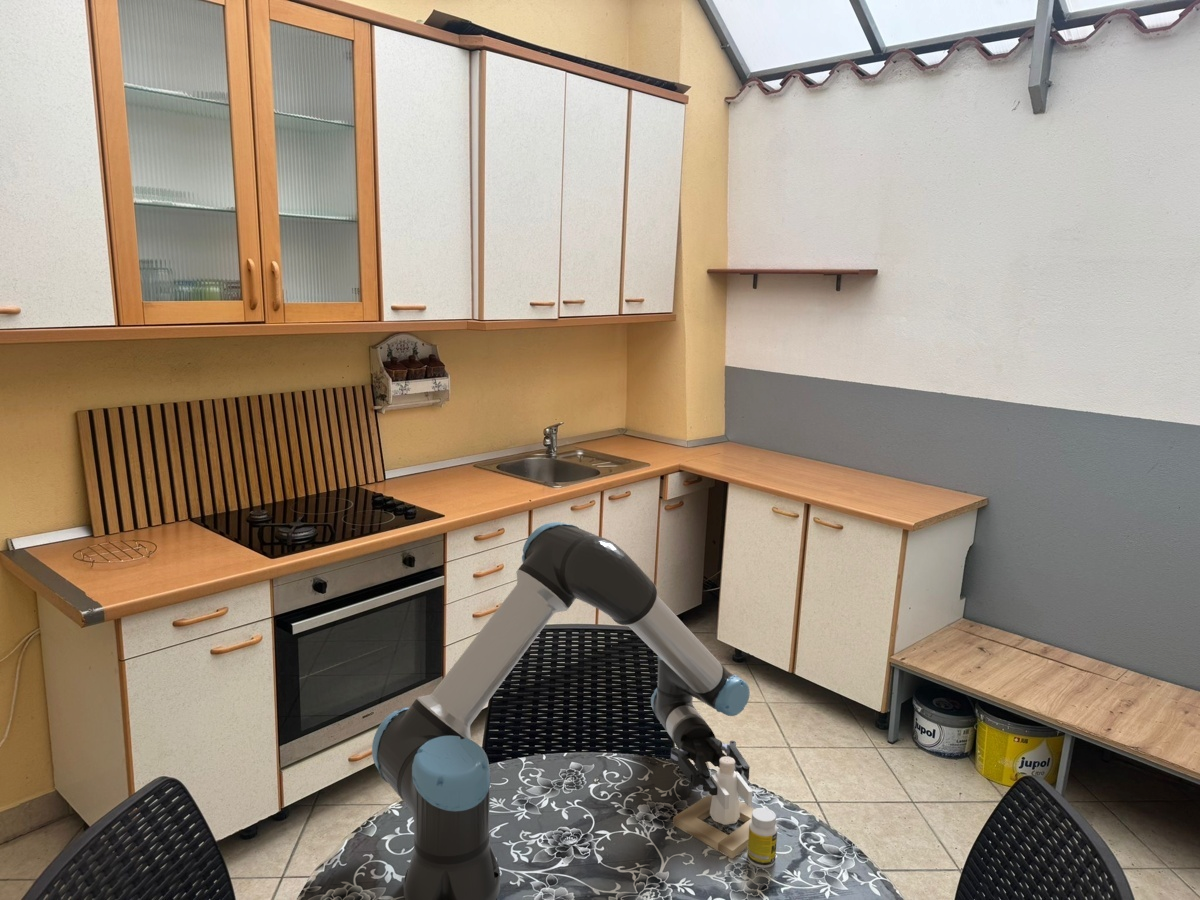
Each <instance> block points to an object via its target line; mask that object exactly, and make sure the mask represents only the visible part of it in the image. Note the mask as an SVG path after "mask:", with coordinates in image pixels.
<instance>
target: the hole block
mask: <svg viewBox="0 0 1200 900" xmlns="http://www.w3.org/2000/svg"><path fill="white" fill-rule="evenodd" d="M711 801H712V795H711V794H710V793H709V792H708V794H706V795H704V796H703V797H702V798H700V799H699V800H697V801H696V802H694V803H693V804H691V805H690V806H689V807H687V808H685V809H684V810H682V811H681V812H678V813H677V814H676V815H675V816H673V817H672V825H673V826H674V827H676V828H678V829H680V830H681V831H683V832H684V833H686V834H688V835H690V836H692V837H694V838H695V839H697V840H698V841H700V842H702V843H704V844H705V845H707V846H709V847H711V848H712V849H714V850H716V851H718V852H720V853H721V854H723V855H725V856H727V858H730V859H733V860H734V858H735V857H736V856H738V855H739V854H740V853H742V852H743V851H745V850H746V849H748V836H749V824H750V822H751V820H752V812H753V810H754V809H756V808H754V807H753V806H748V805H747V804H746V803H745V802H744V801H741V800H739V811H740V817H739V819H740V820H739V819H738V820H739V821H741V822H743V824H741V825H740V826H739V827H738V828H736V829H735V830H733V831H732V832H731V833H730V834H728V833H725V832H723V831H722V830H720V829H719V828H716V827H715V826H713V825H711V824H709V823H708V822H705V820H706V819H708V818H709V817H710V816H711V815H710V807H711ZM744 822H745V823H744Z"/></svg>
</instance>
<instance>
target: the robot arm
mask: <svg viewBox="0 0 1200 900" xmlns="http://www.w3.org/2000/svg"><path fill="white" fill-rule="evenodd" d="M522 553H523V554H522V556H521V561H522V564H520V566H519V568H517V571H516V582H517V583H516V585H515V586H514V587H513V588H512V590H511V591H510V593H508V595H507V597H506V598H505V599H504V600H503V602H502V603H501V604H500V606H498V608H497V609H496V610H495V612H494V613H493V614H492V616H491V617H490V618H489V620H488V621H487V622H486V623H485V625H484V626H483V627H482V628H481V630H480V631H479V632H478V634H477V635H476V636H475V637H474V639H473V640H472V641H471V642H470V644H469V645H468V646H467V648H465V650H464V652H463V653H462V654H461V655H460V657H459V658H458V659H457V660H456V661H455V662H454V664H453V666H452V667H451V668H450V669H449V670H448V672H447V673H446V674H445V676H444V677H443V678H442V680H441V681H440V683H438V685H437V686H436V688H434V690H433V691H432V693H430V694H427V695H422V696H421V695H420V696H417V698H416V699H414V701H413V702H412V703H411V705H410V706H409V707H402V708H401V709H400V710H394V711H393V712H391V713H390V714H389V715H387V716H386V717H385V718H384V719H383V721H381V723H380V724H379V726H378V727H377V729H376V732H375V734H374V737H373V739H372V745H371V750H372V751H371V753H372V754H371V755H372V759H373V763H374V765H375V767H376V768H377V770H378V773H379V775H380V776H381V778H382V779H383V781H385V783H387V784H389V786H390V787H391V788H392V789H393V791H394V792H395V793H396V794H397V795H398V797H399V798H400V799H401V800H402V801H403V802H404V804H405V805H406V806H407V807H408V808H409V810H410V811H411V812H412V813H411V814H412V815H413V830H414V832H413V837H414V838H413V839H414V841H413V843H414V847H413V852H412V855H411V858H410V862H409V866H408V868H407V870H406V872H405V875H404V878H403V899H404V898H405V900H497V899H498V897H499V895H500V892H501V870H500V866H499V864H498V860H497V857H496V855H495V852H494V849H493V847H492V844H491V843H490V842H491V841H490V798H491V797H490V794H491V793H490V788H491V787H490V786H491V770H490V764H489V758H488V755H487V753H486V752H485V750H484V748H482V746H480V745H479V744H478V743H477V742H475V741H474V740H472V737H471V736H472V735H471V725H472V723H473V722H474V721H475V719H476V718H477V717H478V716H479V714H480V713H481V712H482V710H483V709H484V707H486V705H487V704H488V702H489V701H490V699H491V698H492V697H493V696H494V694H495V693H496V691H497V690H498V689H499V687H500V686H501V685H502V684H503V682H504V681H505V680H506V678H507V677H508V676H509V674H510V673H511V671H512V670H513V669H514V668H515V666H516V665H517V664H518V662H519V661H520V659H521V658H522V657H523V655H524V654H525V653H526V652H527V650H528V649H529V647H530V646H531V645H532V643H533V642H534V641H535V639H536V638H537V637H538V636H539V635H540V634H541V631H543V629H544V628H545V626H546V625H547V623H549V621H550V620H551V618H552V617H553V616H554V615H555V614H556V613H560V612H561V613H562V612H566V611H567V612H568V610H569V608H570V607H571V606H572V605H573V603H574V602H575V601H576V599H578V600H579V601H581V602H583V603H586V604H588V605H590V606H592V607H593V608H595V609H597V610H600V611H601V612H603V613H604V614H606V615H607V616H608V617H610V618H611V619H612V620H613V621H614V622H615V623H616V624H618V625H619V626H626V627H629V629H630V630H632V631H633V632H634V633H635V634H636V635H637V636H638V638H640V640H642V641H643V642H644V643H645V645H646V646H648V647H649V648H650V649H651V650H652V651H653V653H655V654H656V655H657V687H656V688H655V689H654V690H653V693H652V695H651V696H650V704H651V708H652V711H653V713H654V714H655V717H656V719H657V720H658V721H659V723H660V724H661V725H662V727H663V728H664V730H665V731H666V732H667V734H668V735H669V737H670V738H671V740H672V741H673V743H674V744H675V747H674V746H673V747H671V748H670V761H671V763H673V764H674V765H676V766H677V767H678V768H679V769H680V771H681V772H682V774H683V775H684V776H685V778H686V780H688V781H689V783H690V784H691V786H692V787H694V788H698V787H699V786H700V785H701V786H702V792H706V793H707V792H708V794H709V793H710V794H711V795H712V796H713V795H715V796H716V798H717V799H718V800H719V802H720V803H721V805H722V806H723V808H724V809H729V793H728V792H727V791H726V789H725V788H724V786H723V785H722V783H721V782H720V781H719V779H718V778H717V776H716V773H714V774H711V772H710V770H709V767H708V764H707V763H710V764H712V765H713V766H714V767H718V769H720V762H719V760H720V758H722V757H725V756H726V757H731V758H733V759H734V760H735V769H734V771H735V772H736V774H737V778H738V794H739V796H740V797H741V799H742V800H743V802H744V803H745V804H747V805H748V806H751V807H753V795H754V794H753V793H754V790H752V788H751V787H750V781H749V780H750V767H751V766H750V765H749V764H748V762H747V761H746V759H745V758H744V756H743V755H742V753H741V752H740V750H739V749H738V748H737V742H736V741H735V740H730V741H729V743H723V742H722V741H721V740H720V739H718V738H716V736H715V733H714V730H712V728H711V727H710V725H709V724H708V723H707V722H706V720H705V719H704V718H703V715H701V714H700V713H699V711H698V710H697V708H696V707H695V706H694V704H693V700H694V699H693V698H695V699H697V700H698V701H700V702H702V703H704V704H705V705H707V706H709V707H711V708H712V709H714V710H716V712H718V713H721V714H724V715H726V716H729V717H735V716H737V715H739V714H741V713H742V712H743V711H744V710H745V707H746V706H747V704H748V702H749V699H750V686H749V685H748V683H747V681H745V680H744V679H742V678H740V676H738V675H737V674H736V675H735V674H732V673H731V672H730V671H729V670H728V669H727V668H726V667H725V666H724V665H723V664H722V663H721V662H720V661H719V660H718V659H717V658H716V657H715V656H714V655H713V653H711V652H710V651H709V649H708V648H707V647H706V646H705V645H704V644H703V643H702V641H700V639H699V638H697V637H696V635H695V634H694V633H693V632H692V631H691V630H690V629H689V628H688V627H687V626H686V625H685V624H684V622H683V621H682V620H681V619H680V618H679V617H678V616H677V615H676V614H675V613H674V612H673V610H672V609H670V607H669V606H668V605H667V604H666V603H665V602H664V601H663V600H662V599H661V598H660V597H659V596H658V588H657V585H656V584H655V583H654V582H653V581H652V580H651V578H650V577H649V576H648V575H647V574H646V573H645V572H644V571H643V570H642V569H641V567H640V566H639V565H638V564H637V563H636V562H635V561H634V560H633V559H632V558H631V556H629V555H628V553H627V552H625V551H624V550H623V549H622V548H621V547H620V546H618V545H617V544H616V543H614V542H613V541H611V540H610V539H607V538H605V537H602V536H599V535H597V534H594V533H592V532H589V531H586V530H584V529H582V528H580V527H578V526H577V525H574V524H569V523H564V522H559V521H558V522H557V521H556V522H555V521H553V522H549V523H545V524H542V525H540V526H539V527H538V528H536V529H535V530H533V532H531V534H529V536H528V537H527V538H526V541H525V542H524V545H523V547H522ZM692 761H693V762H692ZM693 763H694V764H693Z"/></svg>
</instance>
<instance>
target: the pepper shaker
mask: <svg viewBox="0 0 1200 900" xmlns="http://www.w3.org/2000/svg"><path fill="white" fill-rule="evenodd" d="M726 756H727V755H726ZM726 756H725V757H722V758H720V760H719V762H720V768H718V769H717V771H716V772H715V775H716V776H717V778H718V779H719V781H720V782H721V783H722V785H723V786H724V788H725V789H726V791H727V792H728V793H729V809H724V808H723V806H722V805H721V803H720V802H719V800H718V799H717V798H716V796H715V795H713V796H712V801H711V807H710V816H711V818H712V820H713V821H714V822H716V823H719V824H722V825H732V824H736V823H737V822H738V820H739V817H740V811H739V801H740V798H739V796H740V794H739V793H738V778H737V774H736V772H735V771H734V769H735V760H734V759H733V758H731V757H728V756H727V757H726Z"/></svg>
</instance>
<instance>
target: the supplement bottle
mask: <svg viewBox="0 0 1200 900" xmlns="http://www.w3.org/2000/svg"><path fill="white" fill-rule="evenodd" d="M776 823H777V815H776V813H775V812H774V811H773V810H772V809H769V808H767V807H756V808H755V809H754V810H753V812H752V820H751V822H750V824H749V836H748V847H747V855H746V856H747V860H748V861H749V863H750V864H752V865H753V866H755V867H758V868H762V869H763V868H765V869H766V868H770V867H772V866H773V865H774V864H775V863H776V858H777V843H778V841H777V840H778V826H777V824H776Z"/></svg>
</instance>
